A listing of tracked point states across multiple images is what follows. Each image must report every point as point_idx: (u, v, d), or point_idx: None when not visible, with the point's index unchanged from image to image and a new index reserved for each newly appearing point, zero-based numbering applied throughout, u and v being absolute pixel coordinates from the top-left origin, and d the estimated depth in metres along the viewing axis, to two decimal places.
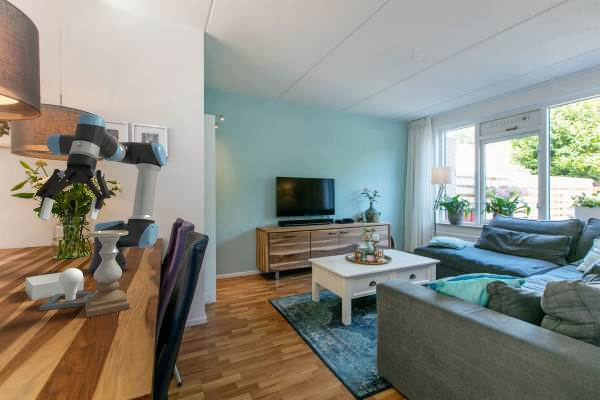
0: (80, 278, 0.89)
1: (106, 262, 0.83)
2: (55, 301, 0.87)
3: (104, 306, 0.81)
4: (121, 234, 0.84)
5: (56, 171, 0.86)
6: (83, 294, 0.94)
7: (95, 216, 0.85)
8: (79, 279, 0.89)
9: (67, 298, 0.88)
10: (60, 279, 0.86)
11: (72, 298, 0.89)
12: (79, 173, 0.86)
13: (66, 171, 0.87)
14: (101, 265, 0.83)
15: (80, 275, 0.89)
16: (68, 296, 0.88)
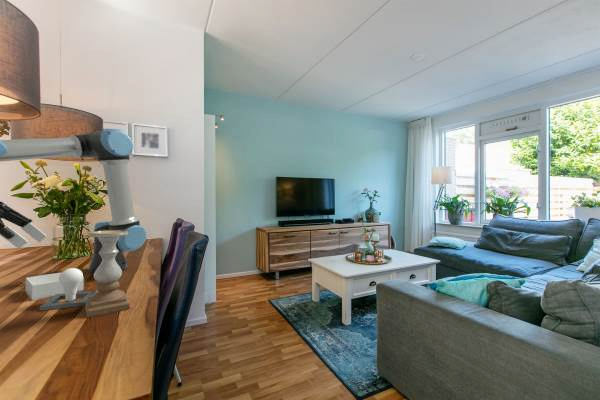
0: (80, 278, 0.89)
1: (106, 262, 0.83)
2: (55, 301, 0.87)
3: (104, 306, 0.81)
4: (121, 234, 0.84)
5: None
6: (83, 294, 0.94)
7: (21, 241, 0.79)
8: (79, 279, 0.89)
9: (67, 298, 0.88)
10: (60, 279, 0.86)
11: (72, 298, 0.89)
12: None
13: None
14: (101, 265, 0.83)
15: (80, 275, 0.89)
16: (68, 296, 0.88)
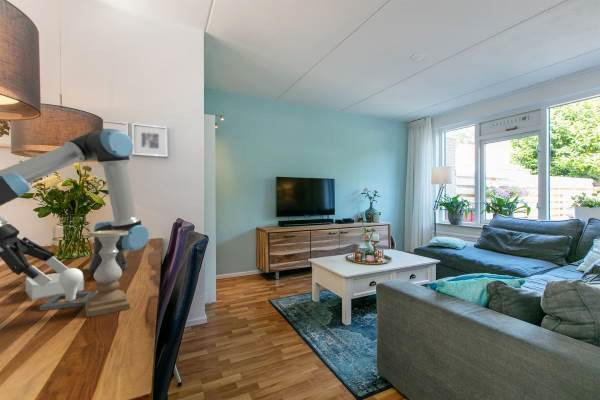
0: (80, 278, 0.89)
1: (106, 262, 0.83)
2: (55, 301, 0.87)
3: (104, 306, 0.81)
4: (121, 234, 0.84)
5: None
6: (83, 294, 0.94)
7: (45, 279, 0.80)
8: (79, 279, 0.89)
9: (67, 298, 0.88)
10: (60, 279, 0.86)
11: (72, 298, 0.89)
12: None
13: None
14: (101, 265, 0.83)
15: (80, 275, 0.89)
16: (68, 296, 0.88)
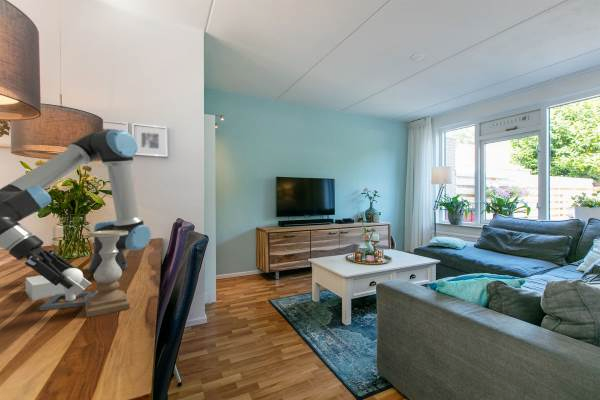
0: (80, 278, 0.89)
1: (106, 262, 0.83)
2: (55, 301, 0.87)
3: (104, 306, 0.81)
4: (121, 234, 0.84)
5: None
6: (83, 294, 0.94)
7: (79, 289, 0.87)
8: (79, 279, 0.89)
9: (67, 298, 0.88)
10: None
11: (72, 298, 0.89)
12: None
13: None
14: (101, 265, 0.83)
15: (80, 275, 0.89)
16: (68, 296, 0.88)
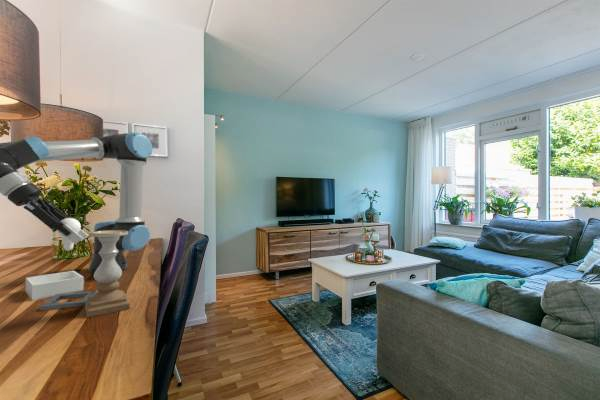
0: (78, 228, 0.91)
1: (106, 262, 0.83)
2: (55, 301, 0.87)
3: (104, 306, 0.81)
4: (121, 234, 0.84)
5: None
6: (83, 294, 0.94)
7: (77, 237, 0.89)
8: (77, 228, 0.90)
9: (65, 246, 0.89)
10: None
11: (70, 247, 0.90)
12: None
13: None
14: (101, 265, 0.83)
15: (78, 225, 0.91)
16: (66, 244, 0.89)
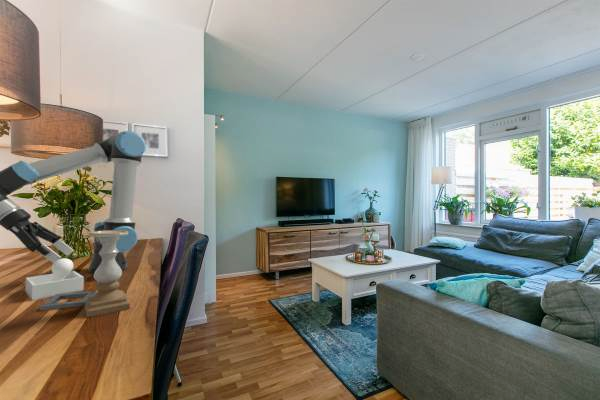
0: (70, 269, 1.00)
1: (106, 262, 0.83)
2: (55, 301, 0.87)
3: (104, 306, 0.81)
4: (121, 234, 0.84)
5: None
6: (83, 294, 0.94)
7: (55, 256, 0.94)
8: (69, 269, 1.00)
9: None
10: (53, 266, 0.97)
11: None
12: None
13: None
14: (101, 265, 0.83)
15: (71, 266, 1.00)
16: None
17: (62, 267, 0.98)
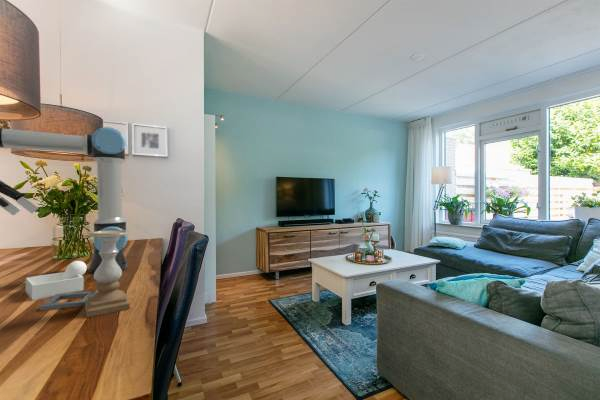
0: (79, 272, 1.02)
1: (106, 262, 0.83)
2: (55, 301, 0.87)
3: (104, 306, 0.81)
4: (121, 234, 0.84)
5: None
6: (83, 294, 0.94)
7: (15, 209, 0.93)
8: (78, 272, 1.02)
9: None
10: (70, 263, 1.03)
11: None
12: None
13: None
14: (101, 265, 0.83)
15: (82, 270, 1.03)
16: (59, 280, 0.99)
17: (75, 266, 1.02)
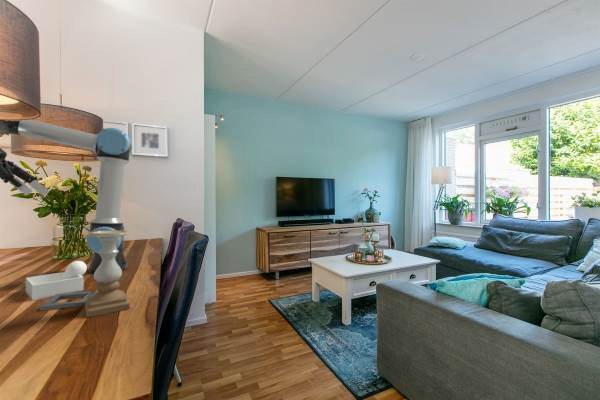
0: (79, 272, 1.02)
1: (106, 262, 0.83)
2: (55, 301, 0.87)
3: (104, 306, 0.81)
4: (121, 234, 0.84)
5: None
6: (83, 294, 0.94)
7: (28, 189, 0.99)
8: (78, 272, 1.02)
9: None
10: (70, 263, 1.03)
11: None
12: None
13: None
14: (101, 265, 0.83)
15: (82, 270, 1.03)
16: (59, 280, 0.99)
17: (75, 266, 1.02)
